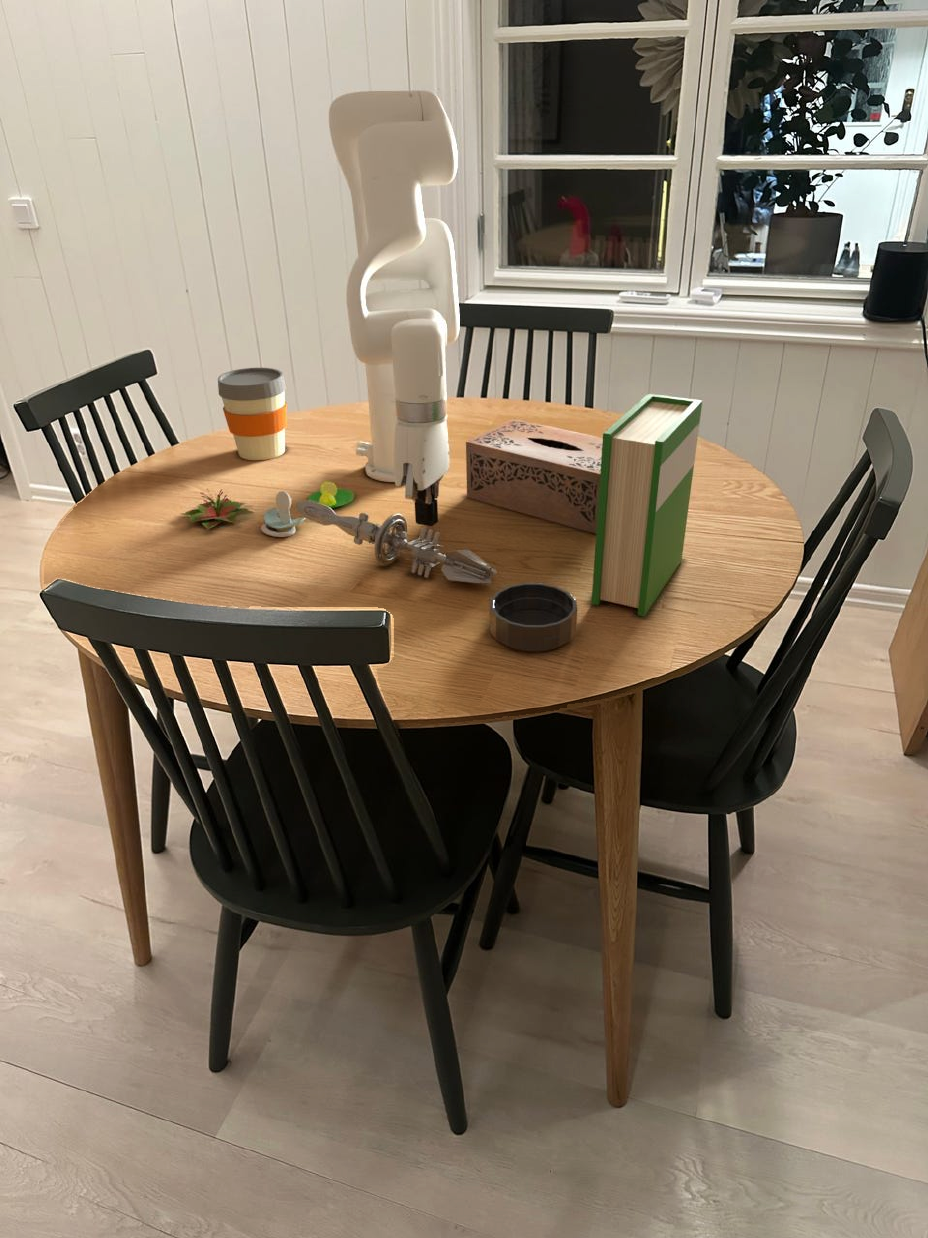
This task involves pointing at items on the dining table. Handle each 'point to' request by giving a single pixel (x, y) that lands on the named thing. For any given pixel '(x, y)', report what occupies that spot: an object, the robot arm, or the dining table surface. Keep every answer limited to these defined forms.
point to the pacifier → (282, 523)
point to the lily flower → (216, 511)
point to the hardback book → (644, 499)
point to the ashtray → (533, 617)
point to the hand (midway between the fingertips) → (426, 523)
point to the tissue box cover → (537, 472)
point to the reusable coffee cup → (255, 411)
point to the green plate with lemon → (331, 495)
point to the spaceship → (402, 544)
